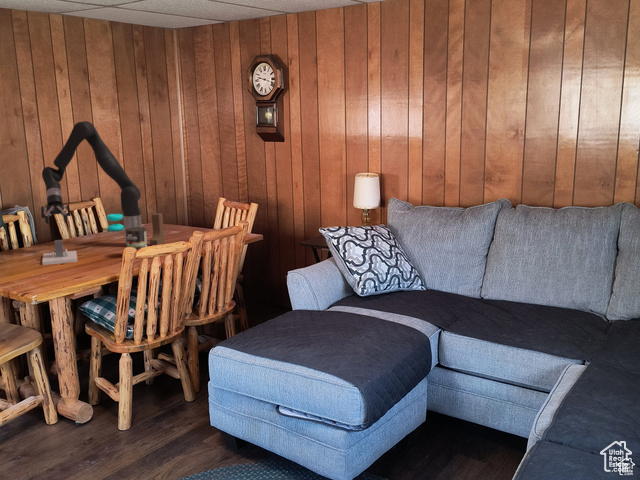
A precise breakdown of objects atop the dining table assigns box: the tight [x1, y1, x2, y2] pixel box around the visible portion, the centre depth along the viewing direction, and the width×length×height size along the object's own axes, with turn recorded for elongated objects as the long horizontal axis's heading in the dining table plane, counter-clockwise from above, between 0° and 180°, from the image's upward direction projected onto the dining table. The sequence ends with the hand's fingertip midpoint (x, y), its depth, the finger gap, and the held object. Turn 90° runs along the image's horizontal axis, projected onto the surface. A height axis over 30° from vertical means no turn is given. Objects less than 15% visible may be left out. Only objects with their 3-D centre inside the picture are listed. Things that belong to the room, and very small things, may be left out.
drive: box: [54, 239, 64, 258], centre depth 307 cm, size 5×4×8 cm
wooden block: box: [149, 212, 165, 247], centre depth 333 cm, size 9×4×18 cm, turn 169°
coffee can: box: [126, 227, 148, 250], centre depth 313 cm, size 10×10×14 cm
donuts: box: [105, 213, 125, 232], centre depth 382 cm, size 10×10×10 cm
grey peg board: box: [42, 248, 78, 266], centre depth 308 cm, size 20×16×4 cm
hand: (56, 222), depth 315 cm, fingers open, 8 cm apart
